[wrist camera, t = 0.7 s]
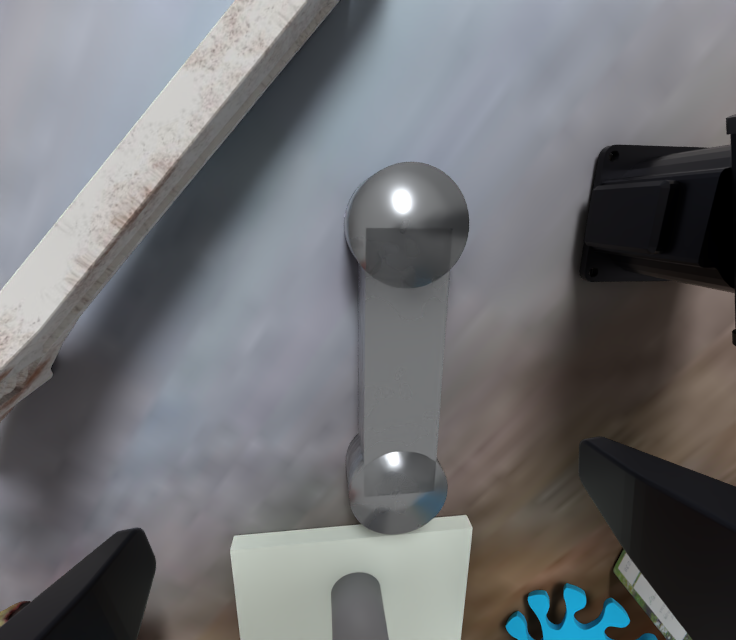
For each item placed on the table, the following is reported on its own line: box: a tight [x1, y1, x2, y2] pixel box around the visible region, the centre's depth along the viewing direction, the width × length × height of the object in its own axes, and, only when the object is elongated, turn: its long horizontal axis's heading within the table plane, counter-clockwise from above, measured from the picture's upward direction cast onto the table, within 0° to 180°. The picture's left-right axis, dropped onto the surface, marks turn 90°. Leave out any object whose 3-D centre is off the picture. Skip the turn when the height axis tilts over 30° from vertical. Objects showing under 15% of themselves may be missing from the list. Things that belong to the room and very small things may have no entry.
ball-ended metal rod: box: [344, 162, 469, 535], centre depth 19 cm, size 5×18×3 cm, turn 179°
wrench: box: [0, 0, 340, 422], centre depth 14 cm, size 8×2×30 cm
